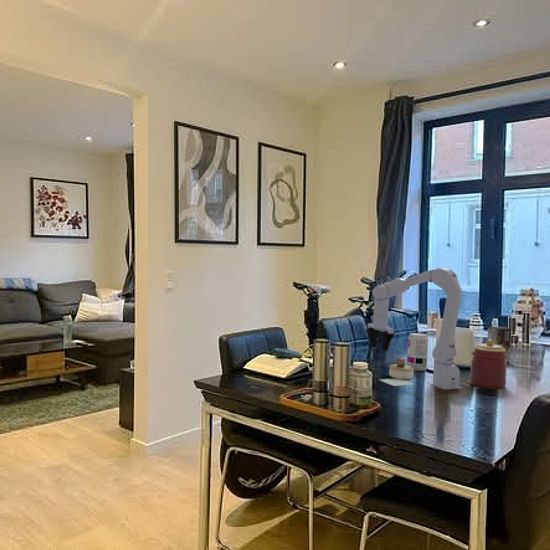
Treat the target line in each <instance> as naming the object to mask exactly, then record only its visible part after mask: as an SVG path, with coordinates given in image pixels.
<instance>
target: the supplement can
mask: <svg viewBox="0 0 550 550" xmlns="http://www.w3.org/2000/svg"><path fill="white" fill-rule="evenodd" d="M428 349H429V338H428V334H426V333H421V332H411V333H410V334H409V335H408V338H407V356H406V366H410V367H412V369H414V372H415V371H416V372H420V371H421V372H423V371H425V370H426V369H427V368H428Z"/></svg>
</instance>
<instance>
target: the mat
mask: <svg viewBox="0 0 550 550" xmlns="http://www.w3.org/2000/svg"><path fill="white" fill-rule="evenodd" d="M379 381H380V382H382V383H385V384H388V385H390V386H393V387H398V386H399V387H401V386H413V385H416V384H415V383H413V382H410V381H408V380H406V379H400V378H385V379H381V378H380V379H379Z"/></svg>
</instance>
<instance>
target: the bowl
mask: <svg viewBox="0 0 550 550" xmlns="http://www.w3.org/2000/svg"><path fill="white" fill-rule="evenodd" d="M414 372H415V370H414V369H412V371H407V372H403V371H395V370H391V369H389V368H388V376H390V377H392V378H393V379H396V378H400V379H402V380H409V379H413V378H414V374H415V373H414Z"/></svg>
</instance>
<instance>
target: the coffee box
mask: <svg viewBox="0 0 550 550" xmlns="http://www.w3.org/2000/svg"><path fill="white" fill-rule="evenodd" d="M511 334H512V328H510V327H507V326H491V325H490V326H487V340H489V339H491V340H493V342H494V345H499V346H502V348H504V349H505V350H506V351H505V352H504V353H505V354H506V355H507V356H508V358H507V359H506V363H510V360H511V358H510V355H511V336H512V335H511ZM487 340H486V341H487Z"/></svg>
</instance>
